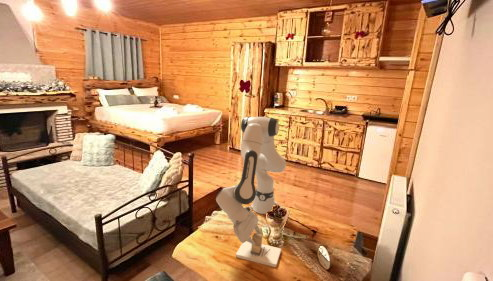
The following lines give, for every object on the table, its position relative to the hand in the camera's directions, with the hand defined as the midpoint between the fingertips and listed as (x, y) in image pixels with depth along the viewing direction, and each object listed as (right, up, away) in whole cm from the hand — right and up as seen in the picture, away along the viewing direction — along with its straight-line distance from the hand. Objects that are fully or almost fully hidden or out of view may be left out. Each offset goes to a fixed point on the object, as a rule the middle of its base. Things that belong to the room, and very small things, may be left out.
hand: (257, 238), depth 127 cm
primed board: (+1, -8, +1) cm, 8 cm away
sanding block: (-1, -7, 0) cm, 7 cm away
